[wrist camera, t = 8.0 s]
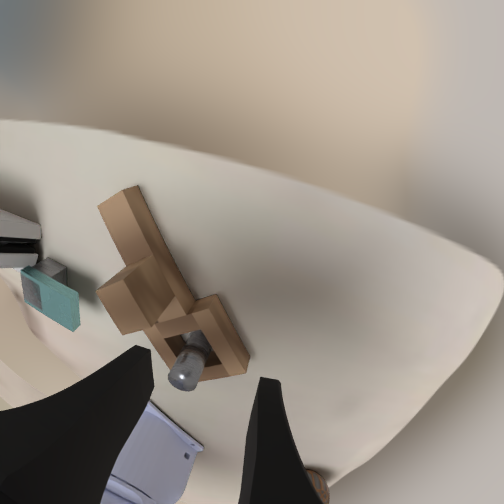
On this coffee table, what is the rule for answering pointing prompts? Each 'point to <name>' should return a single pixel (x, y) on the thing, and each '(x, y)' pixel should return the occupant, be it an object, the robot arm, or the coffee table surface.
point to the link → (162, 292)
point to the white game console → (17, 241)
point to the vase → (319, 486)
